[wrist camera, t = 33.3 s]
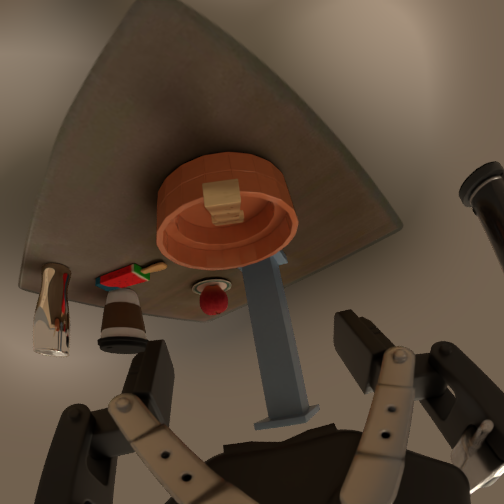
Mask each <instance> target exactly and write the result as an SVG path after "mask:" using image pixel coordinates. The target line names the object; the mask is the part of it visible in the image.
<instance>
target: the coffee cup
mask: <svg viewBox="0 0 504 504" xmlns="http://www.w3.org/2000/svg"><path fill="white" fill-rule="evenodd" d="M145 333H146V331H145V326H144V321H143V317H142V311H141V307H140V305H139V299H138V296H137V294H136V292H135V291H133V290H131V289H126V288H120V289H116V290H113V291H109V293H108V295H107V300H106V305H105V307H104V313H103V320H102V327H101V338H100V339H98V345H99V346H100V349H101V350H103V351H105V352H110V353H117V354H136V353H139V352H145V349H146V345H147V342H148V340H147V339H146V335H145Z"/></svg>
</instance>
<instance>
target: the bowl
mask: <svg viewBox="0 0 504 504" xmlns="http://www.w3.org/2000/svg"><path fill="white" fill-rule="evenodd" d="M230 179H238V182H239V189H240V197H241V206H240V210H243V213H244V220H243V222H241V223H234V224H227V225H219V226H215V225H214V224H213V223H212V219H211V214H210V212H209V211H208V210H207V209H206V208H205V206H204V197H203V189H202V183H208V182H215V181H222V180H230ZM297 226H298V218H297V215H296V212H295V209H294V205H293V202H292V199H291V196H290V193H289V190H288V187H287V184H286V181H285V179H284V176H283V174H282V172H280V171H279V170H278V169H277V168H276V167H275V166H274V165H273V164H272V163H271V162H270V161H267V160H265V159H262V158H260V157H257V156H255V155H253V154H246V153H237V152H222V153H215V154H209V155H204V156H201V157H199V158H196V159H194V160H192V161H189V162H187V163H185V164H182V165H181V166H180V167H178V168H177V169H176V170H175V171H174V172H172V173H171V174H170V175H169V176H168V177H166V179H165V180H164V182H163V184H162V186H161V187H160V189H159V191H158V196H157V227H156V244H157V246H158V248H159V249H160V251H161V253H162V254H163V255H164V256H165V257H167V258H168V259H170V260H171V261H173V262H174V263H176V264H179V265H182V266H185V267H188V268H194V269H202V270H226V269H232V268H238V267H243V266H247V265H250V264H253V263H257V262H259V261H262V260H264V259H266V258H268V257H270V256H272V255H274V254H276V253H277V252H279V251H280V250H281V249H283V248H284V247H285V246H287V245H288V244H289V242H290V241H291V240H292V238H293V237H294V236H295V234H296V231H297Z"/></svg>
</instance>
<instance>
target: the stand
mask: <svg viewBox="0 0 504 504" xmlns="http://www.w3.org/2000/svg"><path fill="white" fill-rule="evenodd" d="M285 263H288V262H287V258H286V255H285V253H284V252H283V251H282V249H281V250H280V251H279V252H277V253H276V254H274V255H272V256H270V257H268V258H266V259H264V260H262V261H259V262H257V263H253V264H250V265H247V266H243V267H238V269H240V270H241V271H242V273H243V279H244V284H245V290H246V296H247V301H248V307H249V312H250V318H251V323H252V329H253V335H254V341H255V346H256V352H257V357H258V363H259V368H260V373H261V379H262V384H263V389H264V395H265V400H266V405H267V410H268V416H269V417H268V418H265V419H263V420H261V421H259V422H257V423H254V427H255V430H261V429H269V428H277V427H283V426H290V425H296V424H301V423H306V422H307V421H308V420H310V418H312V417H313V416H314V415H315V414H316V413H317V412H318V411H319V410H320V408H319V404H318V405H314V406H309V404H308V400H307V394H306V390H305V385H304V380H303V375H302V370H301V365H300V361H299V356H298V351H297V347H296V342H295V338H294V333H293V328H292V324H291V319H290V315H289V310H288V306H287V301H286V297H285V292H284V288H283V284H282V279H281V275H280V271H279V265H282V264H285Z"/></svg>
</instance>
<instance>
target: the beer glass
mask: <svg viewBox="0 0 504 504" xmlns="http://www.w3.org/2000/svg"><path fill="white" fill-rule="evenodd" d="M71 274H72V273H71V270H70V269H69V268H68V267H66V266H64V265H62V264H58V263H46V264H44V265H43V266H42V269H41V276H42V282H41V290H40V294H39V298H38V302H37V305H36V309H35V315H34V321H33V345H34V346H33V347H34V352H36V353H39V354H42V355H48V356H54V357H67V356H69V345H70V316H69V306H68V286H69V282H70V278H71Z"/></svg>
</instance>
